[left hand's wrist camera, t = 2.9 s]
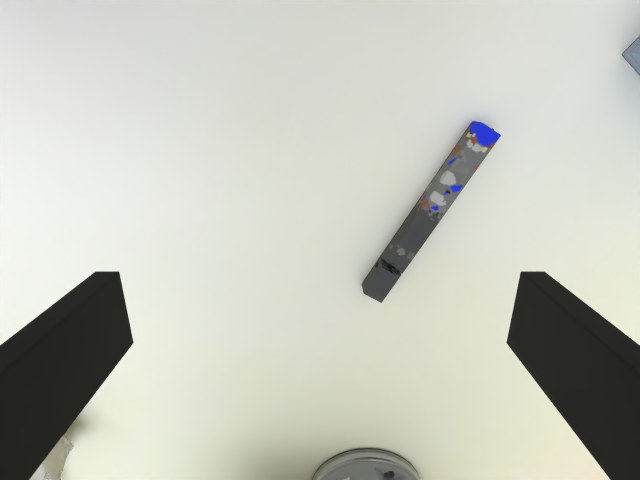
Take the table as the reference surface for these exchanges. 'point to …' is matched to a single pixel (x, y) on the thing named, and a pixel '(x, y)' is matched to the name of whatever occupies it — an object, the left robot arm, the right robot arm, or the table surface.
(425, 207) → the pillar
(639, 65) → the chest
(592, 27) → the table surface
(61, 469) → the anatomical model
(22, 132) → the table surface
